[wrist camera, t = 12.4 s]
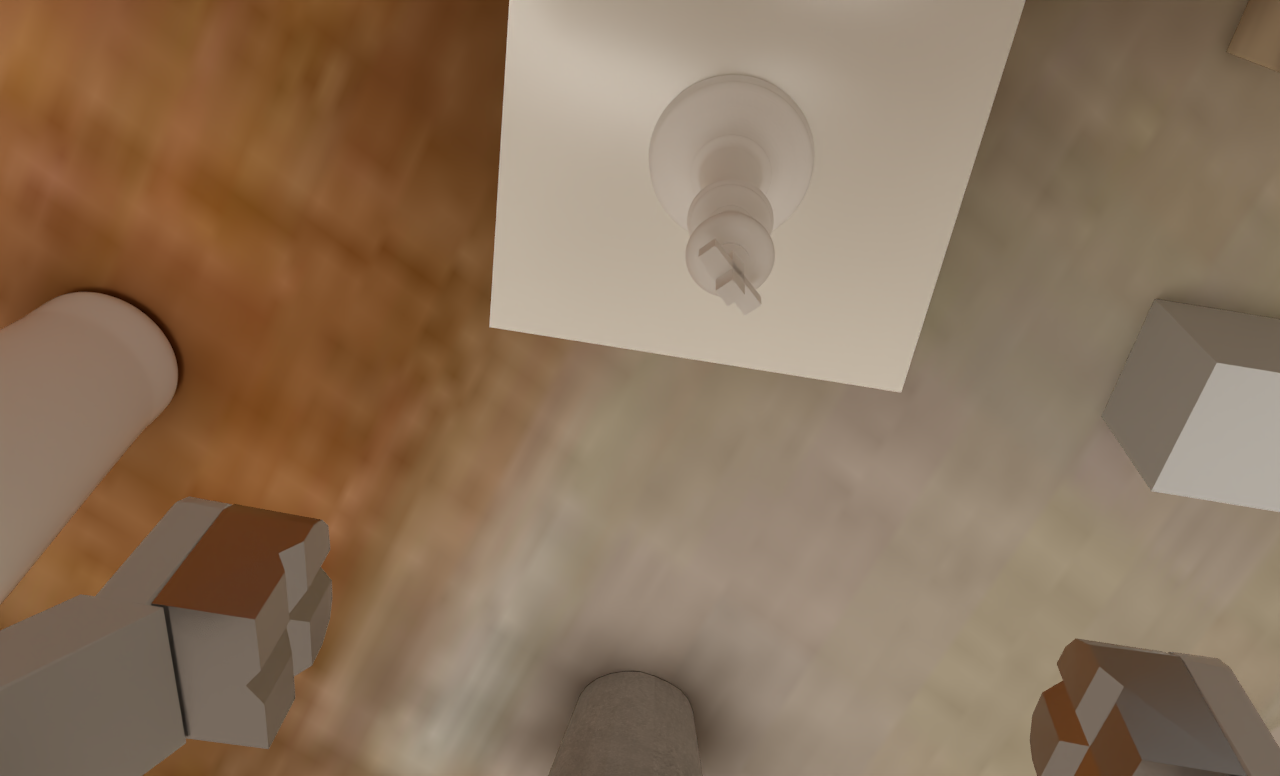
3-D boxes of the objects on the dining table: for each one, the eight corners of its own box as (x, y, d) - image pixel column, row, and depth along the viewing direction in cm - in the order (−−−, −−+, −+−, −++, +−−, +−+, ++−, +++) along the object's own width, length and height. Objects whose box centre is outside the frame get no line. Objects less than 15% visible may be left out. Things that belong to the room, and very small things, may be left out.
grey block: (1154, 297, 30) (1216, 362, 26) (1291, 320, 30) (1374, 388, 26) (1100, 415, 33) (1151, 490, 29) (1228, 436, 33) (1297, 514, 29)
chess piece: (712, 267, 30) (705, 434, 21) (615, 143, 28) (563, 269, 20) (846, 175, 28) (897, 316, 19) (750, 37, 26) (759, 125, 18)
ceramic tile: (525, -148, 26) (518, -149, 25) (1035, -69, 25) (1046, -66, 25) (495, 314, 32) (489, 327, 32) (896, 378, 32) (901, 392, 31)
